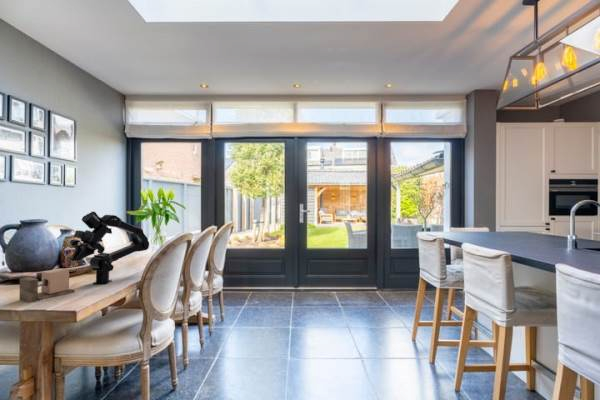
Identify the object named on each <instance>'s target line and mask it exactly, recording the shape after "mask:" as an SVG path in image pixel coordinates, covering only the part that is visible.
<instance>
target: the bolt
mask: <svg viewBox="0 0 600 400" xmlns="http://www.w3.org/2000/svg"><path fill="white" fill-rule="evenodd" d="M44 285H48V280H45V281H42V280H41V281H38V288H39V287H41V286H44Z"/></svg>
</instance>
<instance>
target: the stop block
mask: <svg viewBox="0 0 600 400" xmlns="http://www.w3.org/2000/svg"><path fill="white" fill-rule="evenodd" d="M38 282H39V279H38V278H34V277H29V276H27V277H21V278H19V301H22V302H27V303H32V302H37V301H39V302H40V300H41V301H44V299H45V300H49V299H53V298H57V297H60V296H64V295H69V294H72V293H75V289H71V288H69V290H65V291H60V292H56V293H52V294H48V293H43V292H41V291H40V292H39V291H38V290H39V287H38ZM52 297H53V298H52ZM48 298H49V299H48Z"/></svg>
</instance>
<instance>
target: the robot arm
mask: <svg viewBox="0 0 600 400" xmlns="http://www.w3.org/2000/svg"><path fill="white" fill-rule="evenodd" d="M81 221H82V222H83V223H84V224H85V225H86V226H87V227H88V228H89V230H87V229H86V230H75V233H74V234H73V237H74V238H77V239H72V240H71V239H70V241H69V244H70V245H72V246H73V247H74V248H75V249H76V250H75V253H74V255H73V257H72V260H73V261H74V260H75V261H79V262H80V261H81V260H83V259H85V258H87V257H89V256H91V255H93V256H92V257H91V258H90V260H89V266H90V267H91V269H92V271H95V281H94V282H93V283H92V284H93V285H106V284H109V283H110V282H112V279H110V272H111V271H114V265H113V262H115V261H117V260H120V259H123V258H124V257H126V256H128V255H131V254H133V253H136V252H137V253H138V252H143V251H147V250H148V249H149V247H150V242H149V239H148V236H147V235H146V234H145V233H144V229H143V228H141V227H137V226H135V225H132V224H130V223H128V222H125V221H123V220H122V219H121V217H118V215H115V214H104V215H102V217H101V216H99V215H98V214H97V212H96V211H91V212H89V213H87V214H85V215H84V216H82V218H81ZM109 227H110V228H109ZM112 228H117V229H119V230H123V231H124V232H127V233H130V234H131V243H130V244H129V245H127V246H125V247H122V248H119V249H117V250H115V251H112V252H110V253H109V252H108V253H107V252H105V246H103V244H101V243H102V242H103V238H104V237H105V236H106V234H110V235H111V234H113V231H112ZM91 229H93V230H92V231H91ZM79 239H80V240H79ZM95 251H97V254H95Z"/></svg>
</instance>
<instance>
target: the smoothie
mask: <svg viewBox="0 0 600 400" xmlns="http://www.w3.org/2000/svg"><path fill="white" fill-rule="evenodd" d="M75 250H76V249H75V248H70V247H67V248H65V249H64V256H65V259H64V260H65V264H64V263H63V266H64V265H65V266H66V267H75V266H77V265H78V263H77V262H76V261H75V260H74V261H73V260H72V257H73V255H74V253H75Z"/></svg>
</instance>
